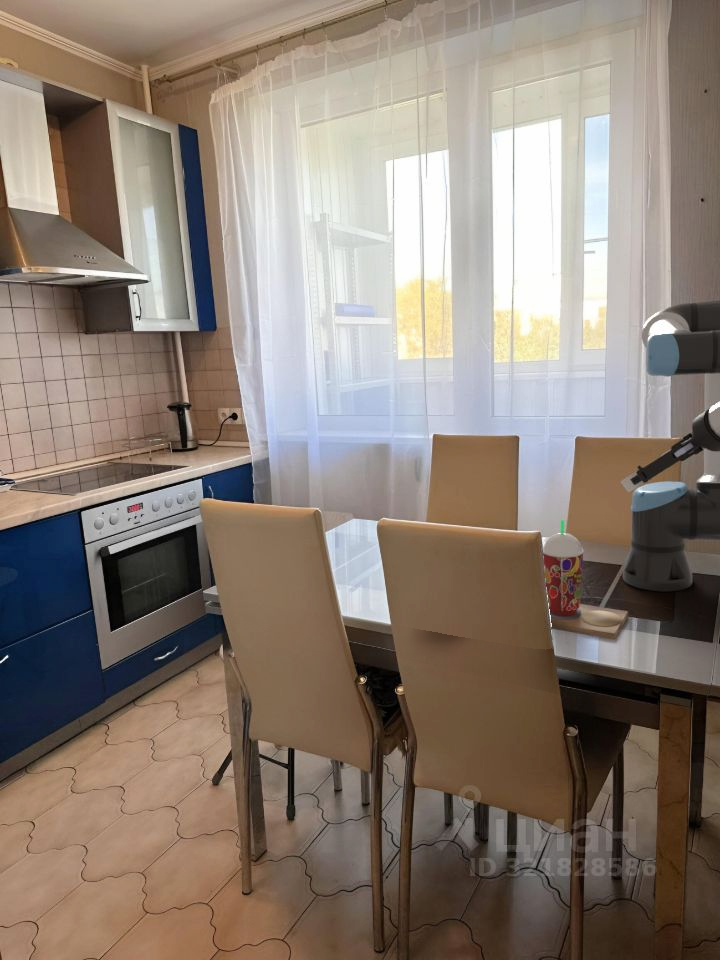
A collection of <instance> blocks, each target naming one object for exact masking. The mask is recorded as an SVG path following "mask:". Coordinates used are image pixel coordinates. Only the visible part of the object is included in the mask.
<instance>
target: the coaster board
mask: <svg viewBox="0 0 720 960" xmlns="http://www.w3.org/2000/svg"><path fill="white" fill-rule="evenodd" d="M550 615H551V623H552V628H551V629H554V630H560V631H565V632H566V631H567V632H572V633H577V634H583V635H588V636H593V637H599V638H604V639H610V640H615V639H616V638H617V636H618V634H619V633H620V631H621V629H622V628H623V626H624V624H625V623H626V621H627V620H628V618H629V611H628V610H622V609H621V610H620V609H614V608H609V607H602V606H595V605H590V604H584V603H580V606H579V608H578V609H577V612H576V613H575V614H574V615H571V616H558V615H554V614H552V613H550Z"/></svg>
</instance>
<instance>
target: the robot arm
mask: <svg viewBox="0 0 720 960" xmlns="http://www.w3.org/2000/svg"><path fill="white" fill-rule="evenodd" d="M641 340H642V344H643V345H644V347H645V348H646V349H645V350H646V351H645V354H646V355H645V366H646V372H647V374H648V375H649V376H656V377H658V376H659V377H660V376H661V377H662V376H663V377H671V376H687V375H688V376H689V375H704V411H703V412H702V413H700V414H699V415H697V416H696V417H695V418H694V419H693V421H692V423H691V430H692V431H691V432H690V433H688V434H686V435H685V436H683V437H682V439H680V441H678V442H676V443H675V444H672V446H671V447H670V449H669V450H667V451H666V452H664V453H662V454H661V455H660V457H658V458H656V459H654V460H653V461H652V462H650V463H649V464H647V465H645V466H641V465H640V464H639V465H638V466H637V470H636V471H635V472H633V473H632V474H630V475H628V476H626V477H625V478H623V479H622V480H620V481H619V482H620V483H621V485H622V486H623V488H624V489H625V490H626V492H627V493H630V492H632V491H633V490H634V491H633V492H632V497H631V506H630V511H631V529H630V530H631V532H630V533H631V535H630V549H629V552H628V555H627V557H626V560H625V563H624V565H623V568H622V580H623V581H624V582H625V583H626V584H628V585H630V586H632V587H634V588H638V589H641V590H646V591H653V592H678V591H683V590H686V589H688V588H690V587H691V586H692V585H693V572H692V569H691V566H690V562H689V559H688V556H687V553H686V541H687V540H688V541H689V540H690V541H716V542H717V541H718V542H720V300H714V301H713V300H712V301H704V302H702V301H701V302H688V303H687V302H686V303H679V304H675V305H671V306H669V307H666V308H664V309H662V310H659V311H658V312H656V313H654V314H653V315H652V316H650V317H649V318H648V319H647V320H646V321H645V323H644V325H643V326H642V330H641ZM702 451H703V452H704V453H703V474H702V476H701V477H699V478H698V479H697V480H696V486H695V487H696V488H694V489H692V488H691V489H688V486H687V484H686V483H685V482H682V481H671V480H670V481H658V482H657V481H656V482H651V483H648V482H649V481H650V480H652V479H653V478H654V477H657V475H659V474H661V473H662V472H663V471H666V470H667V469H669V468H670V467H672V466H674V465H675V464H677V463H678V462H684V461H686V460H687V459H689V458H691V457H693V455H698V454H699V453H701V452H702ZM646 483H647V484H646ZM641 485H642V486H641Z"/></svg>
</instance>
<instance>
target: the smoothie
mask: <svg viewBox="0 0 720 960" xmlns="http://www.w3.org/2000/svg"><path fill="white" fill-rule="evenodd" d="M542 548H543V556H544V566H545V578H546V587H547V595H548V603H549V609H550V613H552V614H554V615H558V616H571V615H574V614H575V613H576V612H577V609H578V608H579V606H580V604H581V591H582V590H581V588H582V575H583V563H584V562H583V561H584V552H585V550H584V548H583V547H582V545H581V543H580V541H579V540H578V538H577V537H576V536H574V535H572V534H571V533H567V532H565V520H564V519H561V520H560V532H557V533H554V534H552V535H550V536H549V537H548V538H547V539H546V541H545V543H544V545H543V546H542ZM543 556H542V557H543Z"/></svg>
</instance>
